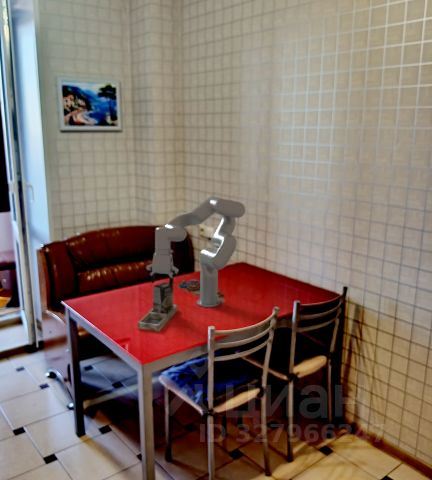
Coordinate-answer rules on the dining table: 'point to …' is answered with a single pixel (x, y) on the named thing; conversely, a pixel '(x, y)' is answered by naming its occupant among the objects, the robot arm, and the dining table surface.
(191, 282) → the gear puzzle
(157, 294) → the coffee box
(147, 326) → the frame
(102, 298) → the dining table surface
